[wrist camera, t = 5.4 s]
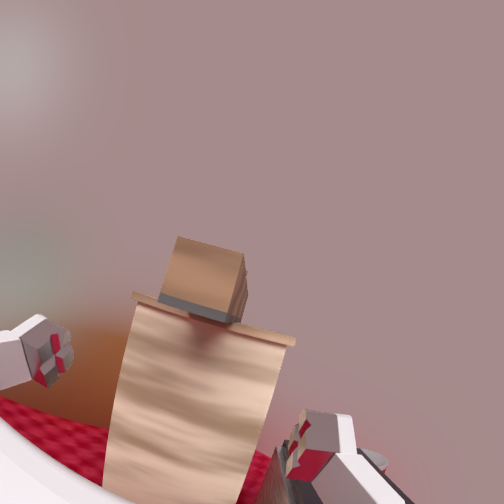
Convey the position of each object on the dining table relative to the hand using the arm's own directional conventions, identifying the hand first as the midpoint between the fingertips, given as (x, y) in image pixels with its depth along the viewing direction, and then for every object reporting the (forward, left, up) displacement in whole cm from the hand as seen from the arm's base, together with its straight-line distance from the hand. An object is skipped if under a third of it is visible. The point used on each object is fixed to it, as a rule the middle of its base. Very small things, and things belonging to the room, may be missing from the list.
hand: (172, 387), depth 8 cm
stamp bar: (+16, +1, +2) cm, 16 cm away
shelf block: (+18, +1, -24) cm, 30 cm away
